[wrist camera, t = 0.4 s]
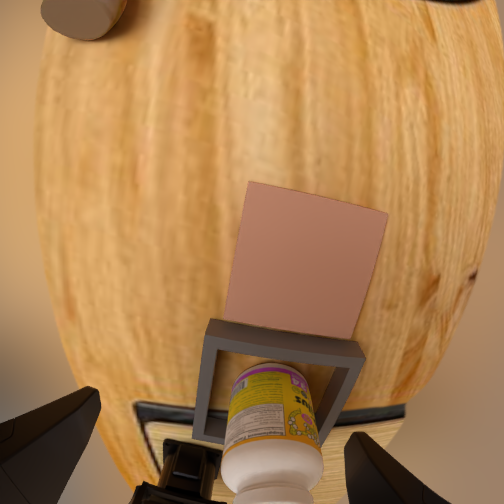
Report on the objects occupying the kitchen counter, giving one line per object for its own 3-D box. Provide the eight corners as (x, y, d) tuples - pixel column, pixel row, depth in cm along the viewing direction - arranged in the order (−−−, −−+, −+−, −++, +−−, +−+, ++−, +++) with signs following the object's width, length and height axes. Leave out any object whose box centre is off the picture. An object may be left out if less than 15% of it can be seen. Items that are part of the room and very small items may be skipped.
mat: (348, 335, 22) (350, 339, 22) (224, 315, 22) (223, 318, 21) (384, 212, 20) (388, 213, 19) (248, 181, 20) (248, 181, 19)
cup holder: (314, 436, 25) (317, 453, 23) (196, 420, 25) (191, 438, 23) (357, 341, 22) (366, 358, 20) (210, 318, 22) (204, 334, 20)
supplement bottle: (312, 407, 24) (332, 525, 12) (242, 418, 25) (233, 535, 12) (302, 351, 23) (329, 486, 10) (223, 365, 23) (197, 498, 11)
